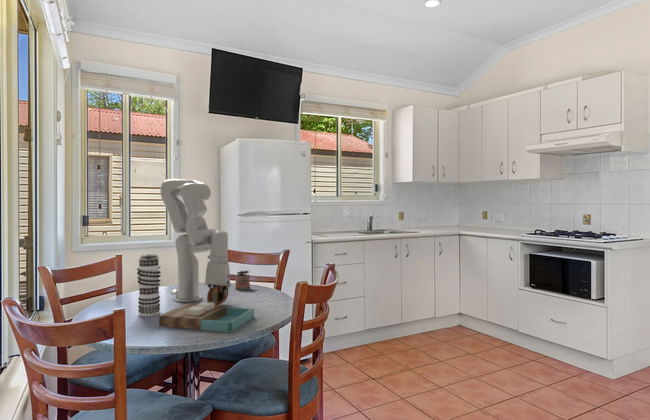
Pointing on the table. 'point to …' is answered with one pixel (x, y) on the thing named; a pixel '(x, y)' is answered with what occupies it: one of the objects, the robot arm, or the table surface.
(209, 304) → the cream tile
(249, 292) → the table surface
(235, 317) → the box
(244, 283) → the lighter
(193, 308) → the cream tile
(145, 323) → the table surface
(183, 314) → the plate
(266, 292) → the table surface
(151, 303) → the decorative candle
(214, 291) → the tin
